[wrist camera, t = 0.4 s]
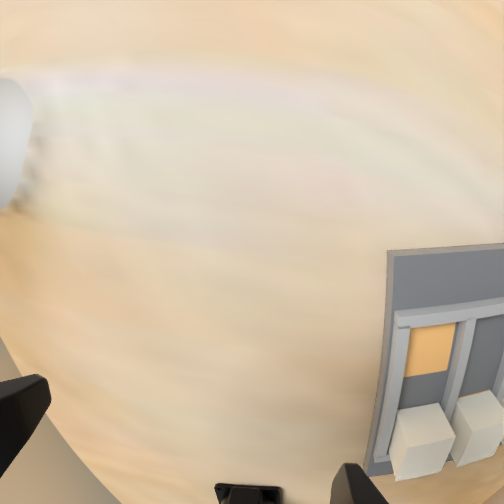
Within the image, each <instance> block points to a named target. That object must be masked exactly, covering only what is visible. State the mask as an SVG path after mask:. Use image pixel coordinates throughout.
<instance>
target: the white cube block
mask: <svg viewBox="0 0 504 504" xmlns="http://www.w3.org/2000/svg"><path fill="white" fill-rule="evenodd" d="M449 424H450V426H451V428H452V430H453V432H454V434H455V436H456V438H455V440H454V443H453V445H452V448H451V450H450V454H451V456H452V458H453V461H454V463H455V465H456V467H460V466H463V465H466V464H469V463H473V462H476V461H479V460H482V459H485V458H487V457H490V456H493V455H494V453H495V451H496V449H497V448H498V446H499V444H500V442H501V440H502V438H503V436H504V408H503V407H502V406H501V404H500V403H499V401H498V400H497V399H496V397H495V396H494V395H493V393H492V392H491V390H489V391H485V392H481V393H478V394H474V395H470V396H466V397H462V398H458V399H457V402H456V405H455V408H454V411H453V414H452V417H451V420H450V423H449Z"/></svg>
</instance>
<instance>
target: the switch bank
mask: <svg viewBox="0 0 504 504" xmlns="http://www.w3.org/2000/svg"><path fill="white" fill-rule="evenodd" d="M489 390H491V392H492V393H493V395H494V396H495V397H496V399H497V400H498V401H499V403H500V404H501V402H502V399H503V397H504V243H498V244H483V245H468V246H453V247H437V248H422V249H406V250H390V251H387V283H386V305H385V321H384V334H383V345H382V355H381V365H380V373H379V381H378V388H377V395H376V402H375V409H374V415H373V421H372V426H371V432H370V437H369V442H368V447H367V452H366V457H365V461H364V472H365V473H366V475H367V476H368V477H372V476H379V475H385V474H392V473H394V471H393V467H392V463H391V459H390V455H389V451H388V446H389V442H390V438H391V434H392V430H393V426H394V422H395V417H396V413H397V410H400V409H406V408H412V407H418V406H423V405H429V404H434V403H439V404H440V406H441V408H442V410H443V412H444V414H445V416H446V418H447V420H448V422H449V423H450V420H451V417H452V414H453V411H454V408H455V405H456V402H457V399H458V398H462V397H466V396H470V395H474V394H478V393H481V392H485V391H489ZM501 444H502V442H500V444H499V445H501ZM451 460H453V458H452V456H451V454H450V452H449V454H448V457H447V459H446V461H445V462H447V461H451Z"/></svg>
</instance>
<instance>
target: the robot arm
mask: <svg viewBox="0 0 504 504" xmlns="http://www.w3.org/2000/svg"><path fill="white" fill-rule="evenodd" d="M50 403H51V394H50V389H49V385H48V381H47V379H46V378H44V377H42V376H40V375H38V374H33V375H29V376H24V377H20V378H16V379H12V380H7V381H3V382H0V478H1V477H2V475H3V473H4V472H5V471H6V470H7V468H8V467H9V465H10V464H11V463H12V461H13V460H14V459H15V457H16V456H17V455H18V453H19V452H20V450H21V449H22V448H23V446H24V445H25V444H26V442H27V441H28V440H29V438H30V437H31V435H32V434H33V432H34V430H35V429H36V427H37V425H38V424H39V422H40V420H41V419H42V417H43V415H44V414H45V412H46V410H47V409H48V407H49V406H50ZM214 489H215V492H216V495H217V498H218V501H219V504H281V495H280V489H279V488H278V487H258V486H240V485H228V484H216V485H215V487H214ZM330 504H389V503H388V502H387V501H386V499H385V498H384V497H383V496H382V494H381V493H380V492H379V490H378V489H377V488H376V487H375V485H374V484H373V483H372V481H371V480H370V479H369V477H368V476H367V475H366V473H365V472H364V471H363V469H362V468H361V467H360V466H359V465H358V464H356V463H344V464H343V465H342V466H341V468H340V469H339V471H338V473H337V475H336V476H335V478H334V480H333V483H332V489H331V500H330Z"/></svg>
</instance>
